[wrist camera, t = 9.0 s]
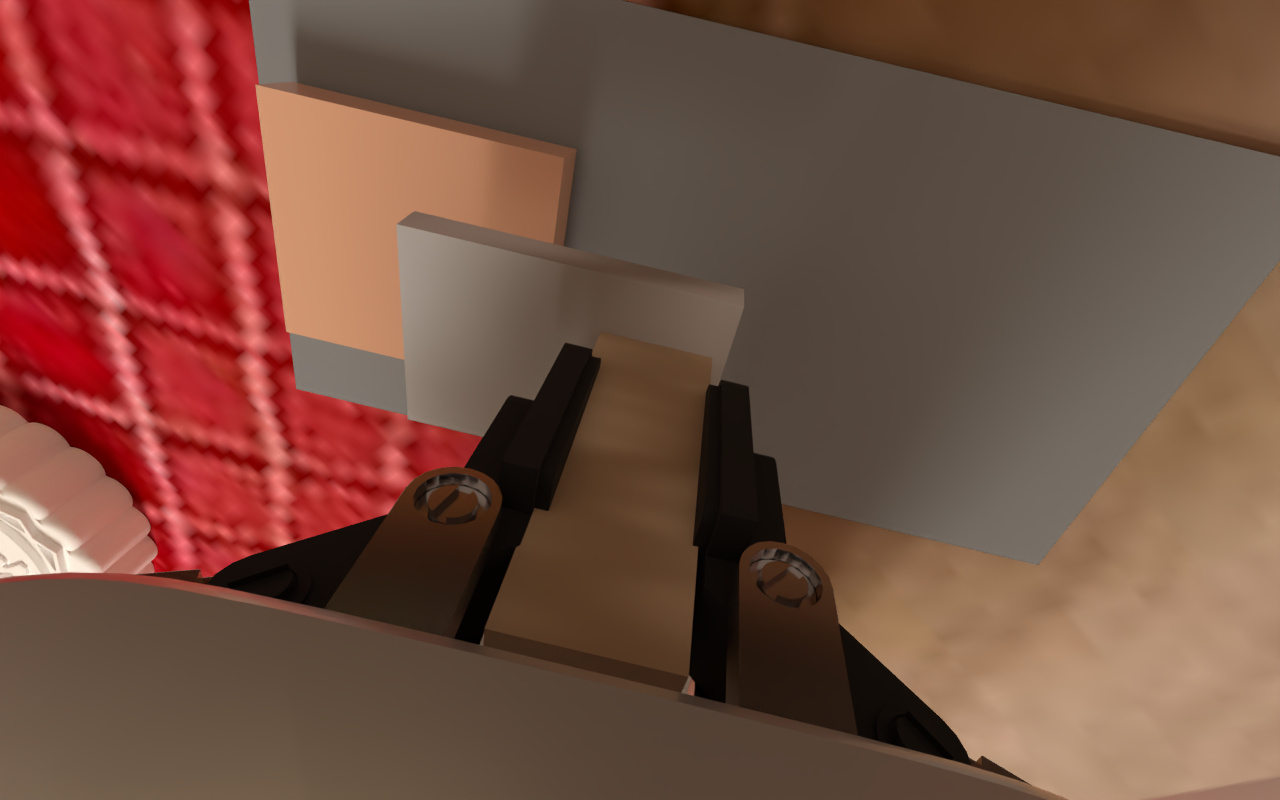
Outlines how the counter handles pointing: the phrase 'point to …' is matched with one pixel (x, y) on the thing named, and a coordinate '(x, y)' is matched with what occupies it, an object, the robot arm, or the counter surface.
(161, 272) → the counter surface
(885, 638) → the counter surface
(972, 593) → the counter surface
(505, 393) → the wooden stand
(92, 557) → the mooncake
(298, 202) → the tile
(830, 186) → the mat
